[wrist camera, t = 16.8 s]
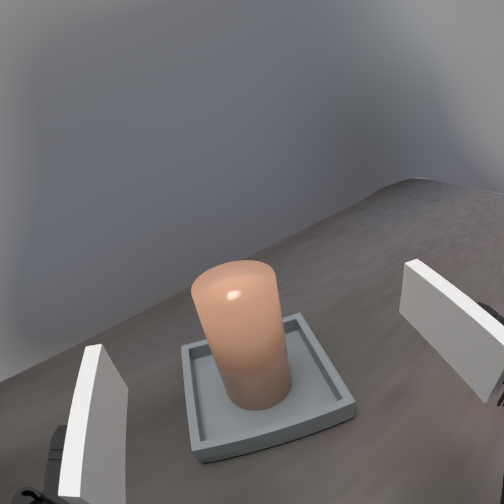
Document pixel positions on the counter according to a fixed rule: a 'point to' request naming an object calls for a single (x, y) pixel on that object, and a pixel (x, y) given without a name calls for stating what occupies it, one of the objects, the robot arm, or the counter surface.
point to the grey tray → (268, 420)
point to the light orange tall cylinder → (245, 332)
